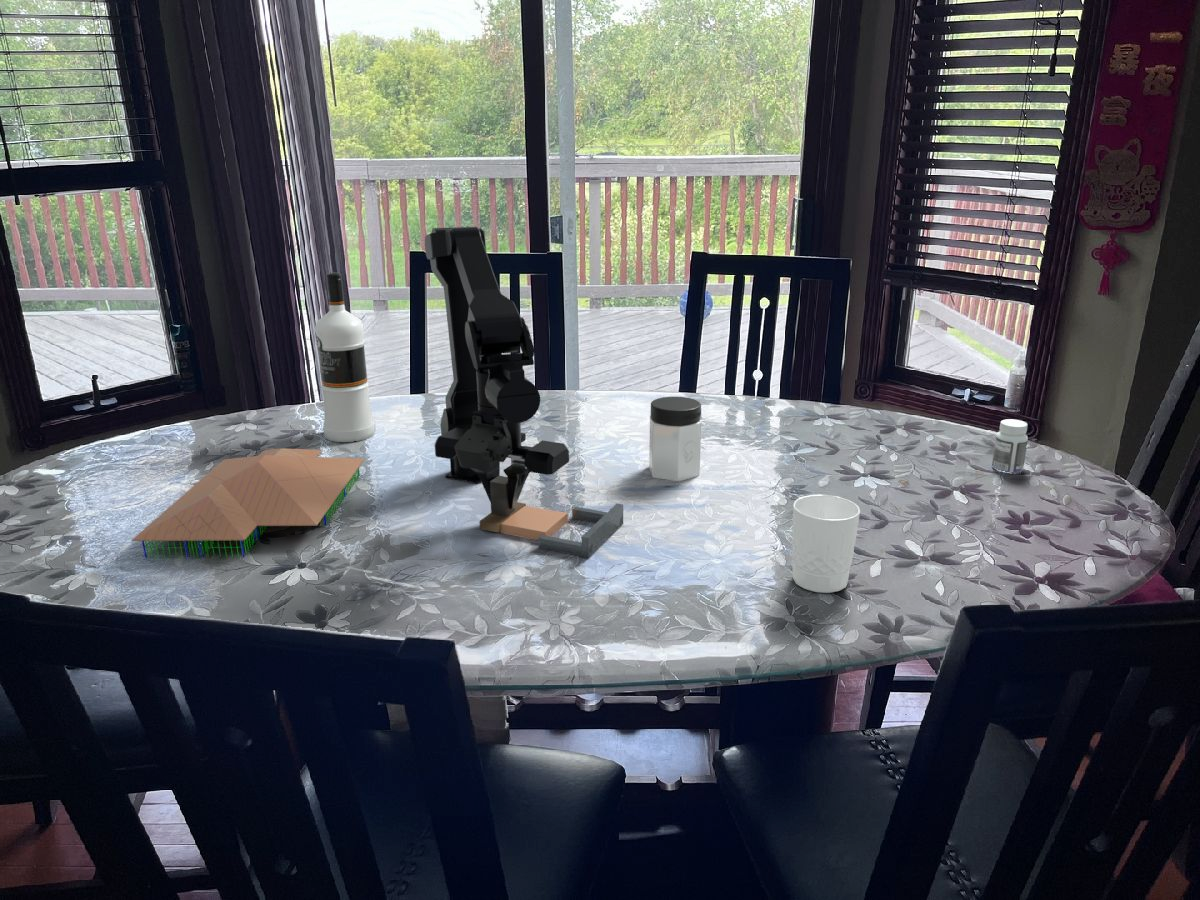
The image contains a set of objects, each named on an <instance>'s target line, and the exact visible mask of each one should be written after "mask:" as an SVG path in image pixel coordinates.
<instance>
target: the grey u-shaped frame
mask: <svg viewBox="0 0 1200 900" xmlns="http://www.w3.org/2000/svg"><path fill="white" fill-rule="evenodd" d="M571 514H572V515H571V518H572V520H578V521H584V522H588V523H589V522H590V523H594V524H593V525H592V526H591V527H590V528H588V530H586V532H585V533H584V534H582V536H581V541H576V540H570V539H565V538H561V537H554V536H552V537H550V536H545V535H541V536H540V537H539V540H538V549H543V550H548V551H552V552H556V553H557V552H558V553H563V554H568V555H573V556H578V557H581V558H582V559H583V558H584V559H588V560H589V559H590V558H591V557H592V556H593V555H594V554H595V553H596V552H597V551H598V550H599V549H600V548H601V547H602V546H603V545H604V544H605V543H606V542H607V541H608V540H610V538H611V537H612V536H613V535H614V534H615V533H616V532H617V531H618V530H619V529H620V528H621V527H622V526H623V525H624V504H623V503H615V505H613V506H612V507H611V508H610V509H609V510H608V511H603V510H599V509H598V510H596V509H590V508H585V507H580V506H574V507H573V508H572V509H571Z"/></svg>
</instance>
